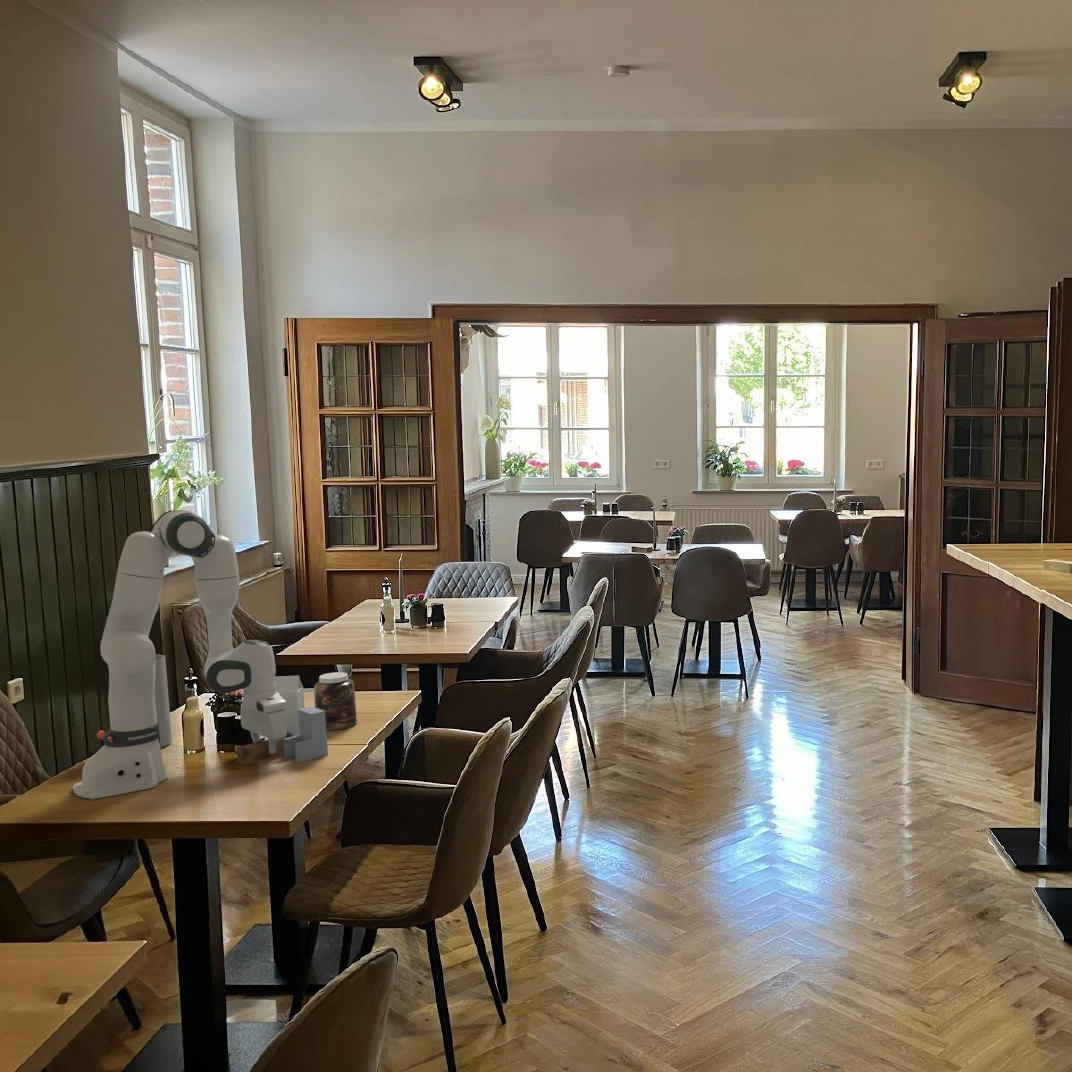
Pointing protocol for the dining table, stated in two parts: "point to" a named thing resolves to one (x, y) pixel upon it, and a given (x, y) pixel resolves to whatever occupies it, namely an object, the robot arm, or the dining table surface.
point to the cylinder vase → (162, 701)
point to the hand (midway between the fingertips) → (264, 749)
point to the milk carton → (291, 700)
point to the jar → (336, 700)
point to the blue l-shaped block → (308, 736)
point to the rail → (259, 751)
